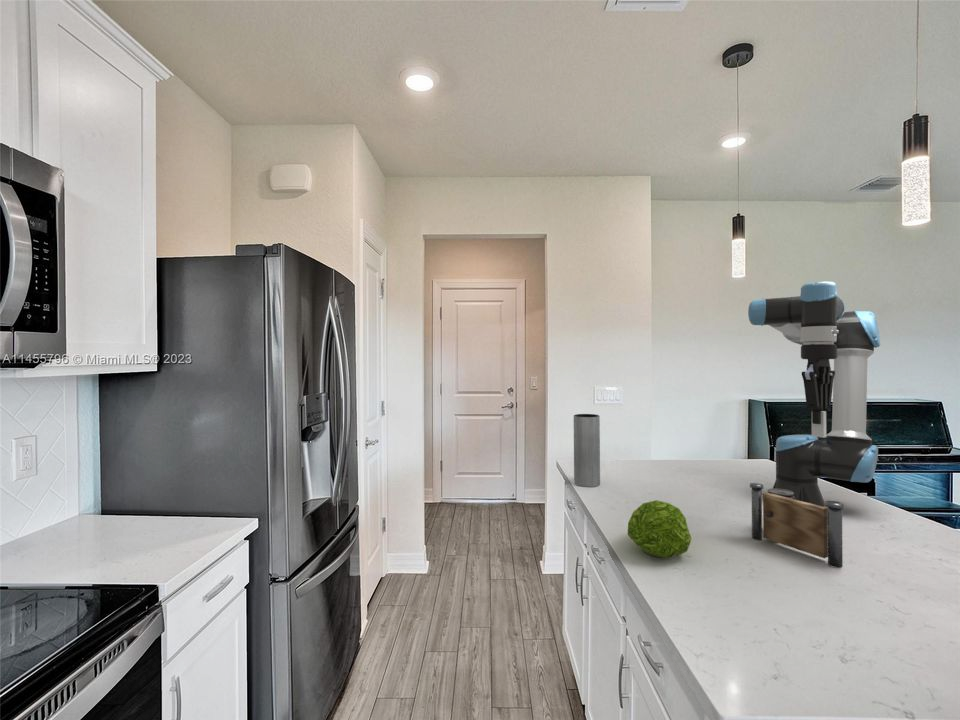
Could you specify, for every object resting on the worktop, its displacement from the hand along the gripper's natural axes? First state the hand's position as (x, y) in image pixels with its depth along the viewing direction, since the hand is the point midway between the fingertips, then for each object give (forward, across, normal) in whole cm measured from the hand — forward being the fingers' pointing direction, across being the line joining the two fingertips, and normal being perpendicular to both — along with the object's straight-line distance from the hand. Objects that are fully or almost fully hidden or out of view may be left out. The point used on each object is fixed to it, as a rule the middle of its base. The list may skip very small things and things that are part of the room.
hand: (818, 436), depth 122 cm
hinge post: (+29, -6, -6) cm, 30 cm away
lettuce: (+30, -30, +25) cm, 49 cm away
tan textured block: (+29, -2, +10) cm, 31 cm away
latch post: (+29, -4, +14) cm, 33 cm away
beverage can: (+30, +5, +12) cm, 32 cm away
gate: (+28, -5, +4) cm, 29 cm away
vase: (+30, -1, +80) cm, 86 cm away
